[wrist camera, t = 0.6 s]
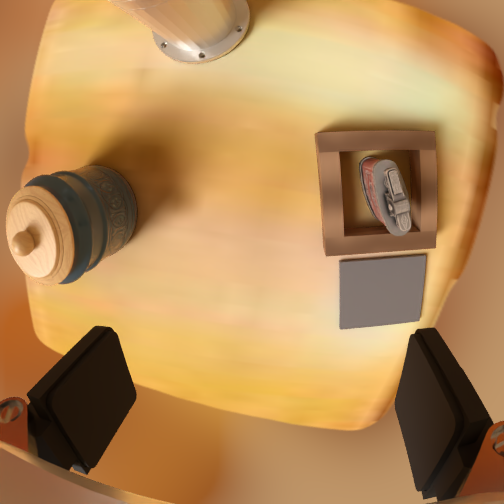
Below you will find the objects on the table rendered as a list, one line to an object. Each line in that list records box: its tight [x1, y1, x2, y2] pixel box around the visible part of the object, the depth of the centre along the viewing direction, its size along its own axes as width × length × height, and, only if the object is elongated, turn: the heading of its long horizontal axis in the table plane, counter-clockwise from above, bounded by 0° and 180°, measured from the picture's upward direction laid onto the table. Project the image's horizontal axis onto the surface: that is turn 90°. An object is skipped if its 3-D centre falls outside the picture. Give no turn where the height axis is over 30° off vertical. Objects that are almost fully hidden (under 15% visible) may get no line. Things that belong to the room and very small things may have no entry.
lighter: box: [359, 157, 411, 236], centre depth 32 cm, size 8×3×10 cm, turn 20°
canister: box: [6, 165, 137, 286], centre depth 34 cm, size 13×13×18 cm
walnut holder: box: [315, 130, 437, 256], centre depth 35 cm, size 14×14×4 cm
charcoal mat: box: [339, 254, 426, 329], centre depth 40 cm, size 10×12×1 cm
